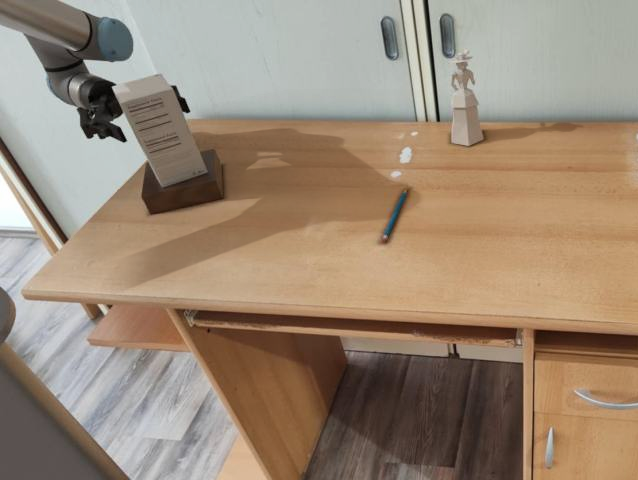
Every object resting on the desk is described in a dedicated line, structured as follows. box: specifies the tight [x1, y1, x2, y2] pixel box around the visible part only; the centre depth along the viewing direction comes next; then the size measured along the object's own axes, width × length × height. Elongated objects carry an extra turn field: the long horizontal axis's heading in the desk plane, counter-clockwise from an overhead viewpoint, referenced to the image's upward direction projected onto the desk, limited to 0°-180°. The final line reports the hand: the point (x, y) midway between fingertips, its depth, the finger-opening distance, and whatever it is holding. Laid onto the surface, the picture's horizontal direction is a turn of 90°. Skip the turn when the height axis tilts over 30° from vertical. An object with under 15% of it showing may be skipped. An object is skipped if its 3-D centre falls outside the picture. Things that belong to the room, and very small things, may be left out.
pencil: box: [380, 189, 407, 244], centre depth 107 cm, size 1×17×1 cm, turn 170°
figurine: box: [449, 48, 484, 147], centre depth 120 cm, size 7×8×18 cm
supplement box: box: [112, 73, 208, 188], centre depth 111 cm, size 10×9×17 cm
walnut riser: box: [140, 148, 224, 215], centre depth 118 cm, size 14×14×4 cm
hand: (155, 120), depth 109 cm, fingers open, 13 cm apart
